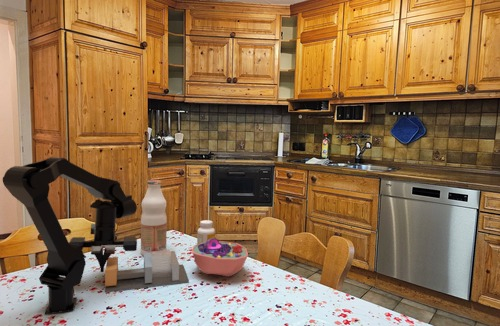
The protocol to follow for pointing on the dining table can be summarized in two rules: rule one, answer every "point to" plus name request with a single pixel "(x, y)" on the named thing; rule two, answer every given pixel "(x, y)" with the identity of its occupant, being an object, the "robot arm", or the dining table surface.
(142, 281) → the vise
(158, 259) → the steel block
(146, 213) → the fruit juice
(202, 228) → the supplement bottle
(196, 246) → the cell model
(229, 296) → the dining table surface
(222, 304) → the dining table surface
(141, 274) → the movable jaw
